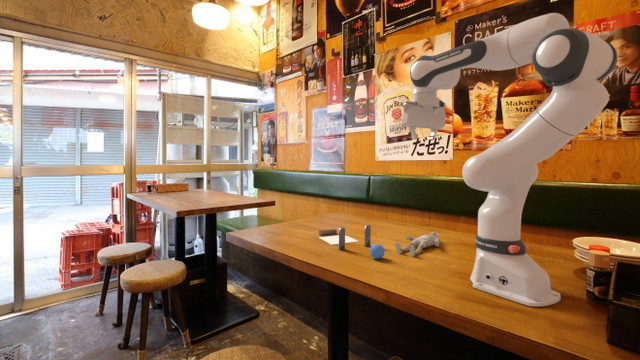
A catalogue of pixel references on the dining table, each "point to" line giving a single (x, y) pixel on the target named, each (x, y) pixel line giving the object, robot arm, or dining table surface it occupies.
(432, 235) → the figurine
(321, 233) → the strip
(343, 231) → the post left
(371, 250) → the ball
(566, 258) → the dining table surface
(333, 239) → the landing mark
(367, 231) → the post right
